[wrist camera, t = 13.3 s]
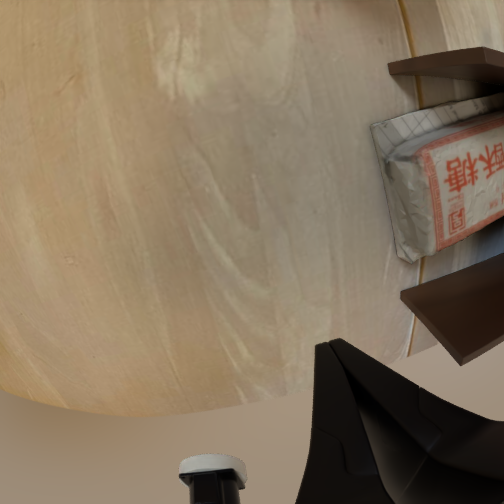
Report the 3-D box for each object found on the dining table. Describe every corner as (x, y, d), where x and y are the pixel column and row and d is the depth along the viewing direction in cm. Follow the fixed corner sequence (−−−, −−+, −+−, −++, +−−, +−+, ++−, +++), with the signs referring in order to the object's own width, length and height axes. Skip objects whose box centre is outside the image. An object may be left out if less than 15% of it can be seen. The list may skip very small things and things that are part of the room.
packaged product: (430, 292, 17) (407, 127, 12) (393, 259, 21) (363, 124, 17) (561, 203, 16) (554, 92, 12) (526, 188, 20) (515, 88, 16)
